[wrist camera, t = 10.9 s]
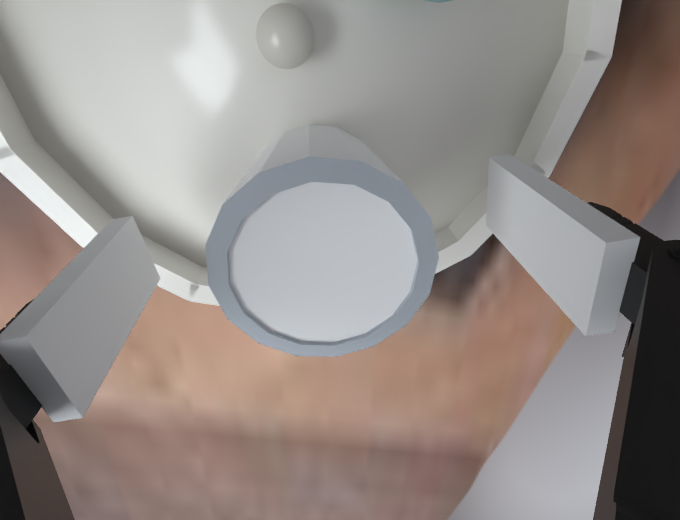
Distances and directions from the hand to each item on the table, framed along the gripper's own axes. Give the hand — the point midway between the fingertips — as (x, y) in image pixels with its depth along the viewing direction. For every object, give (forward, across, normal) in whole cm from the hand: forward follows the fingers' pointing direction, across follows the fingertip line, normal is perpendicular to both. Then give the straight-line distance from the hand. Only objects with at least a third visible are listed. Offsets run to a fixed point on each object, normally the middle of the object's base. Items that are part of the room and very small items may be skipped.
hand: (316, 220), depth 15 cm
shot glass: (+3, 0, 0) cm, 3 cm away
